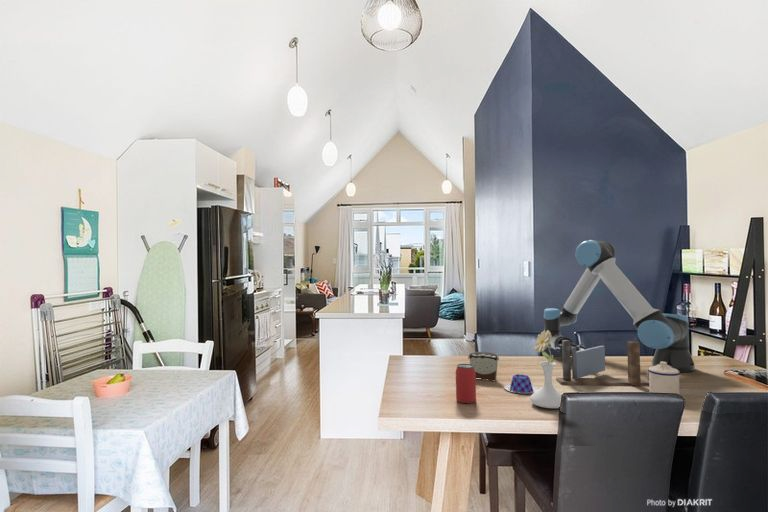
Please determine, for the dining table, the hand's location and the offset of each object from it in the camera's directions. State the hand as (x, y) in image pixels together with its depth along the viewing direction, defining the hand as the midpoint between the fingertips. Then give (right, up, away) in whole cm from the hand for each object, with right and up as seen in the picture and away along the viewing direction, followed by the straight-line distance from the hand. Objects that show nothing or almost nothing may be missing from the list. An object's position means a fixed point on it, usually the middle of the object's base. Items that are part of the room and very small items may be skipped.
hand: (588, 355), depth 177 cm
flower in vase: (-33, -7, -41) cm, 53 cm away
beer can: (-58, -8, -34) cm, 68 cm away
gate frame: (-3, -7, -16) cm, 18 cm away
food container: (-45, -8, -6) cm, 46 cm away
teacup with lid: (+10, -7, -32) cm, 34 cm away
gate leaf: (-4, -6, -9) cm, 12 cm away
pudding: (-36, -8, -22) cm, 43 cm away
